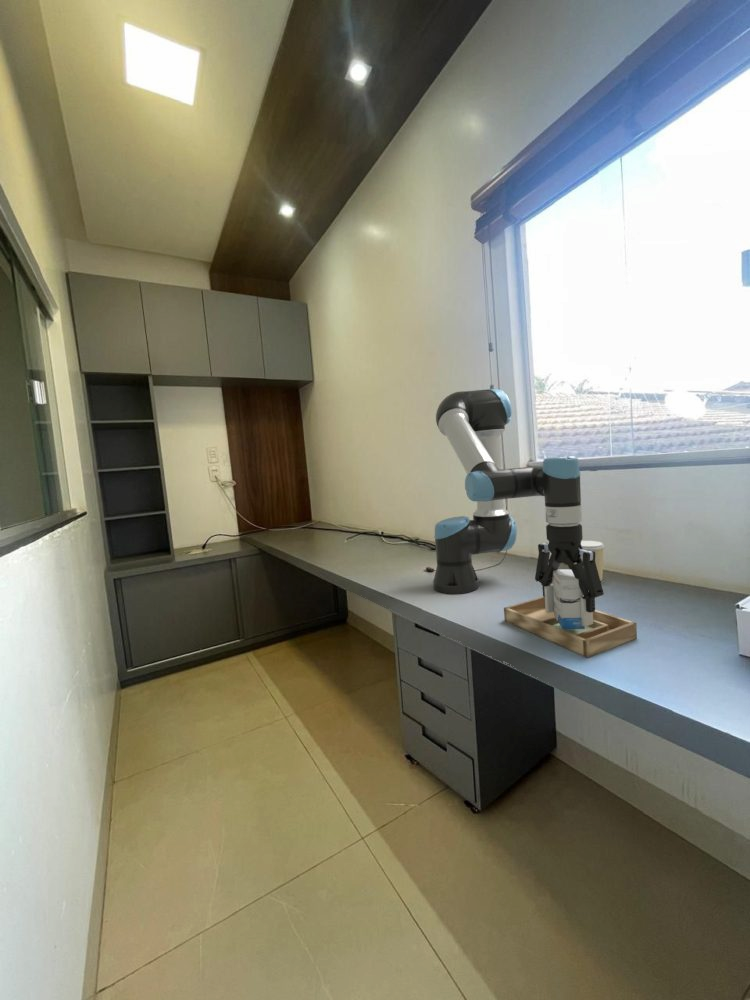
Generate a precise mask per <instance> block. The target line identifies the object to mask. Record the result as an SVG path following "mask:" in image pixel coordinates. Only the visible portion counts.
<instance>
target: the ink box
mask: <svg viewBox="0 0 750 1000" xmlns="http://www.w3.org/2000/svg"><path fill="white" fill-rule="evenodd" d="M552 579H553V583H552V584H553V605H554V616H555V618H556V619H557V621H558V623H559V624H560V626H561V627H562V629H585V627H584V626H582V619H581V598H580V597H583V596H584V595H583V593H582V591H581V589H580V587H579V581H578V579H576V578H575V576H574V574H573V572H572V570H571V569H569V568H568V569H566V568H565V569H564V568H563V569H559V568H558V570H555V571H553V576H552Z"/></svg>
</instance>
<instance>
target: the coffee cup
mask: <svg viewBox="0 0 750 1000" xmlns="http://www.w3.org/2000/svg"><path fill="white" fill-rule="evenodd" d="M581 546H582V548H583V550H587V551H591V550H593V551H595V563H596V566H597V570H598V574H599V578H600V581H601V582H602V581H603V572H604V549H605V545H604V543H603V542H602V541H597V540H582V541H581ZM580 557H582V556H580ZM582 562H583V560H582ZM574 564H577V562H576V563H574ZM583 567H584V566H583Z"/></svg>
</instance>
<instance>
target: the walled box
mask: <svg viewBox="0 0 750 1000" xmlns="http://www.w3.org/2000/svg"><path fill="white" fill-rule="evenodd" d="M503 614H504V621H505V622H506V623H509V624H510V625H513V626H515V627H518V628H519V629H522V630H524V631H526V632H529V633H531V634H533V635H535V636H538V637H540V638H542V639H544V640H546V641H548V642H551V643H553V644H555V645H558V646H560V647H562V648H564V649H566V650H568V651H571V652H573V653H575V654H578V655H579V654H580V656H582V657H583V658H586V659H588V658H590V657H594V656H596V655H598V654H601V653H604V652H606V651H608V650H610V649H613V648H616V647H618V646H621V645H623V644H627V643H629V642H631V641H634V640H636V639H637V638H638V634H637V633H638V631H637V627H638V626H637V622H634V621H632V620H629V619H625V618H621V617H619V616H616V615H613V614H609V613H606V612H603V611H600V610H596V609H595V611H594V612H593V624H591V625H589V626H586V627H585V629H562V627H561V626H560V624H559V623H558V621H557V619H556V618H555V616H554V612H550V613H546V609H545V598H544V597H543V596H540V597H537V598H533V599H531V600H525V601H523V602H519V603H516V604H513V605H509V606H506V607H503Z"/></svg>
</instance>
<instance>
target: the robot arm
mask: <svg viewBox="0 0 750 1000" xmlns="http://www.w3.org/2000/svg"><path fill="white" fill-rule="evenodd" d="M511 417H512V405H511V401H510V398H509V396H508V395H507V393H506V392H505V391H503V390H502V389H494V388H493V389H491V388H488V389H477V390H467V391H466V390H464V391H456V392H452V393H451V394H449V395H447V396H446V397H444V398H443V400H442V401H441V402H440V404H439V405H438V407H437V409H436V413H435V422H436V423H435V424H436V426H437V428H438V430H439V432H440V433H441V434H442V435H443V436H445V437H447V440H448V441H449V444H450V445H451V446H452V449H453V450H454V452H455V455H456V457H457V458H458V459H459V461H460V464H461V466H462V467H463V468H464V471H465V472H466V476H465V479H464V489H465V491H466V496H467V498H468V499H469V500H471V502H476V508H477V509H476V510H475V511H474V512H473V513H472V519H470V518H469V517H468V516H465V515H462V516H453V517H448V518H444V519H442V520H439V521H438V522H437V523H435V525H434V537H433V538H434V542H435V544H434V545H435V554H436V555H435V556H436V569H435V572H434V578H433V580H432V585H433V589H434V590H435V591H436V592H439V593H443V594H449V595H450V594H452V595H453V594H455V595H457V594H460V595H461V594H466V593H467V594H468V593H472V592H474V591H476V590H478V589H479V587H480V582H479V578H478V575H477V573H476V571H475V568H474V566H473V559H472V556H473V555H480V554H481V555H482V554H489V553H491V554H492V553H500V552H506V551H509V550H510V549H511V548H512V549H513V546H514V545H515V544H516V543H515V542H516V540H517V534H518V532H517V531H518V528H517V525H516V521H515V518H513V517H512V516H511V515H510V514H509V511H508V510H507V509H506V508H505V507H504V500H506V499H518V498H529V497H537V496H538V497H543V498H544V506H545V509H544V510H545V522H546V523H547V524H546V526H545V531H546V532H545V533H546V540H547V541H548V542H543V543H539V544H537V549H538V556H537V562H536V563H537V564H536V569H535V577H534V579H535V581H536V582H538V583H540V584H541V586H542V597H544V598H545V609H546V613H550V612H554V605H553V579H552V576H553V571H555V570H558V569H559V567H560V565H561V564H564V565H565V566H566V565H567V567H568V569H571V570H572V572H573V574H574V576H575V578H576V579H578V581H579V587H580V589H581V591H582V593H583V597H580V598H581V619H582V626H584V627H586V626H589V625H591V624H593V612H594V611H595V610H596V600H595V599H596V598H598V597H601V596H604V594H605V593H604V589H603V585H602V583H601V582H602V581H600V578H599V574H598V570H597V566H596V563H595V551H593V550H591V551H587V550H583V548H582V546H581V541H583V525H582V524H581V522H583V517H582V513H583V512H582V499H581V498H582V497H581V496H582V495H581V491H582V490H581V470H580V462H579V458H578V457H577V456H574V455H569V456H557V457H556V456H555V457H546V458H544V459H543V461H542V465H528V466H525V467H514V468H513V467H512V468H503V467H502V466H503V465H502V448H501V447H502V445H501V443H502V442H501V435H502V434H503V433H504V432H505V431H506V430H505V429H506V428H505V426H506V425H508V424H509V423H510V421H511ZM580 556H582V557H580ZM582 560H583V562H582ZM576 562H577V564H574V563H576ZM583 566H584V567H583Z"/></svg>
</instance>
